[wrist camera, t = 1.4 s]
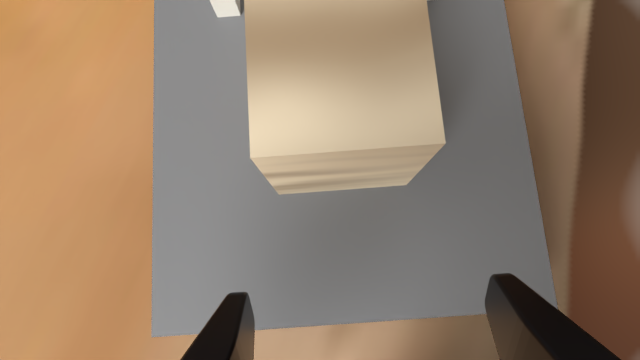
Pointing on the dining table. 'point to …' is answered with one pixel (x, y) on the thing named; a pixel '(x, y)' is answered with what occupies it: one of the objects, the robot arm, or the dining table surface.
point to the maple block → (341, 93)
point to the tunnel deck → (339, 205)
